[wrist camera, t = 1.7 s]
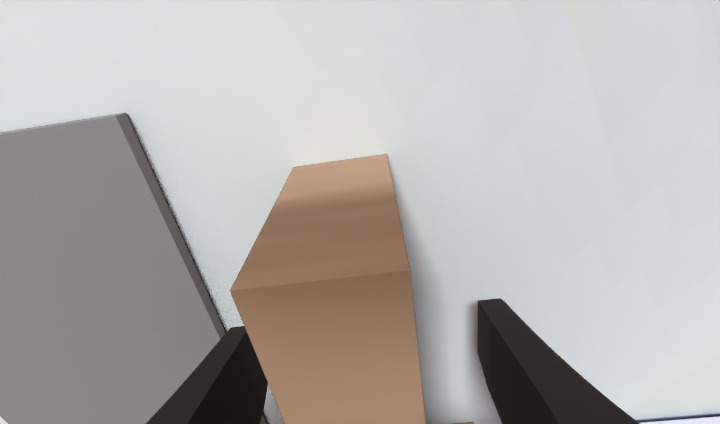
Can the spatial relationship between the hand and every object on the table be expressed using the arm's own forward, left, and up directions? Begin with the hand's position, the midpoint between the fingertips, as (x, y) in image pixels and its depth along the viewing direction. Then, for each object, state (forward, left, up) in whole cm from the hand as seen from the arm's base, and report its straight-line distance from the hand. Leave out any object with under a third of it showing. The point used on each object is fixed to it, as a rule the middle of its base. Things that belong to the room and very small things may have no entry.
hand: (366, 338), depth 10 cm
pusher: (0, +1, -2) cm, 2 cm away
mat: (+10, +2, -1) cm, 10 cm away
